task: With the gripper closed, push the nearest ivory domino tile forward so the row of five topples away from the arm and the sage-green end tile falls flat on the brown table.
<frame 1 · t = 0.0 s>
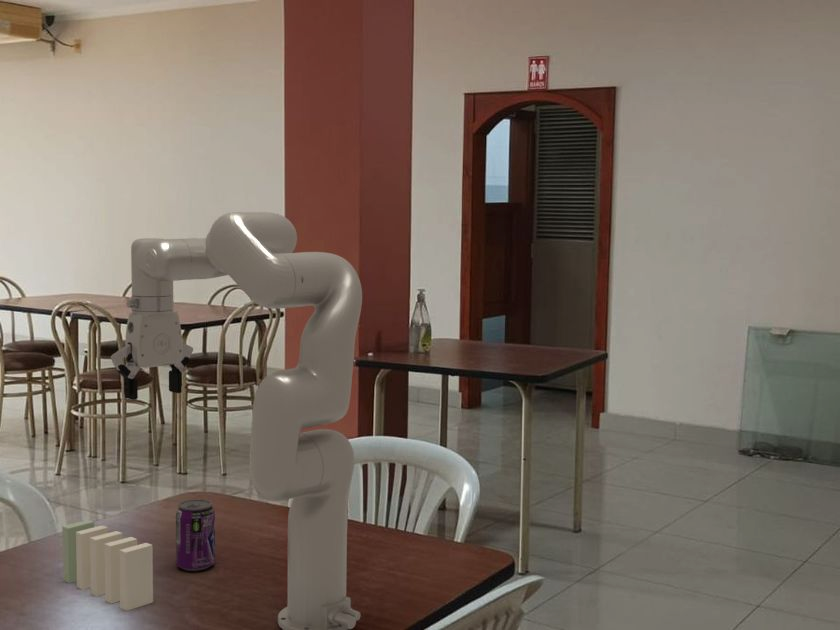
hand: (153, 395, 193), 31 cm above the table, fingers open, 9 cm apart
tile 5: (79, 578, 184), on the table
tile 3: (107, 591, 178), on the table
beverage can: (195, 567, 191), on the table
tile 1: (136, 605, 172), on the table
tile 2: (121, 598, 175), on the table
tile 4: (93, 584, 181), on the table
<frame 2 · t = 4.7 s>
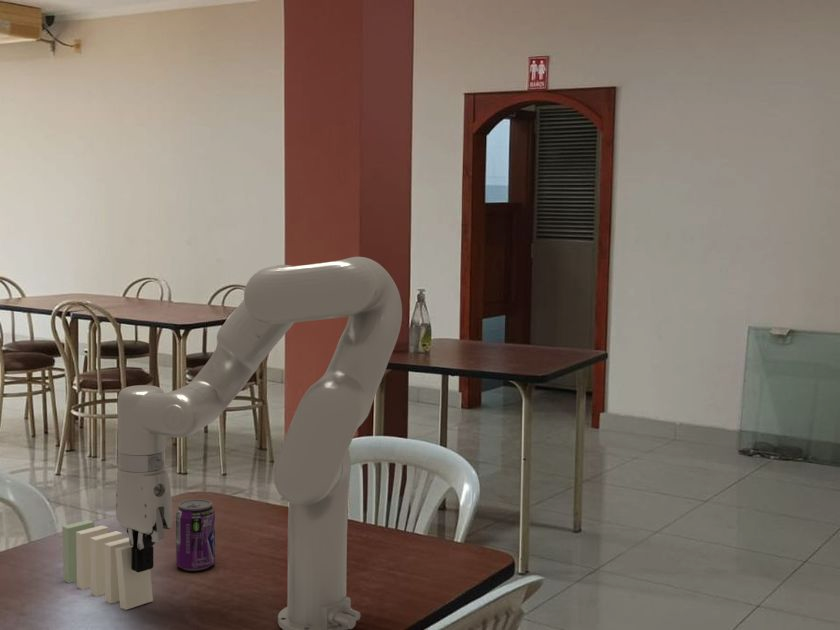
hand: (142, 569, 170), 7 cm above the table, fingers closed
tile 1: (136, 604, 172), on the table, tilted 7°, touching gripper
everything else where it was.
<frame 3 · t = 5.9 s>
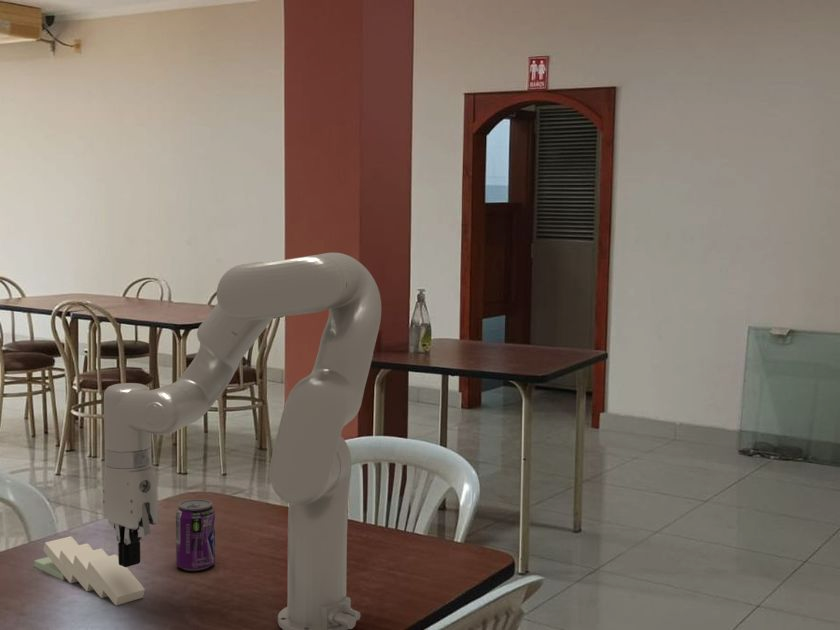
hand: (129, 564, 173), 7 cm above the table, fingers closed
tile 5: (76, 575, 185), on the table, tilted 90°, touching tile 4
tile 3: (101, 583, 180), point 1 cm above the table, tilted 68°, touching tile 2
tile 1: (130, 597, 173), point 1 cm above the table, tilted 67°, touching tile 2
tile 2: (115, 590, 177), point 1 cm above the table, tilted 67°, touching tile 1, tile 3
tile 4: (84, 575, 183), point 1 cm above the table, tilted 68°, touching tile 5
everything else where it was.
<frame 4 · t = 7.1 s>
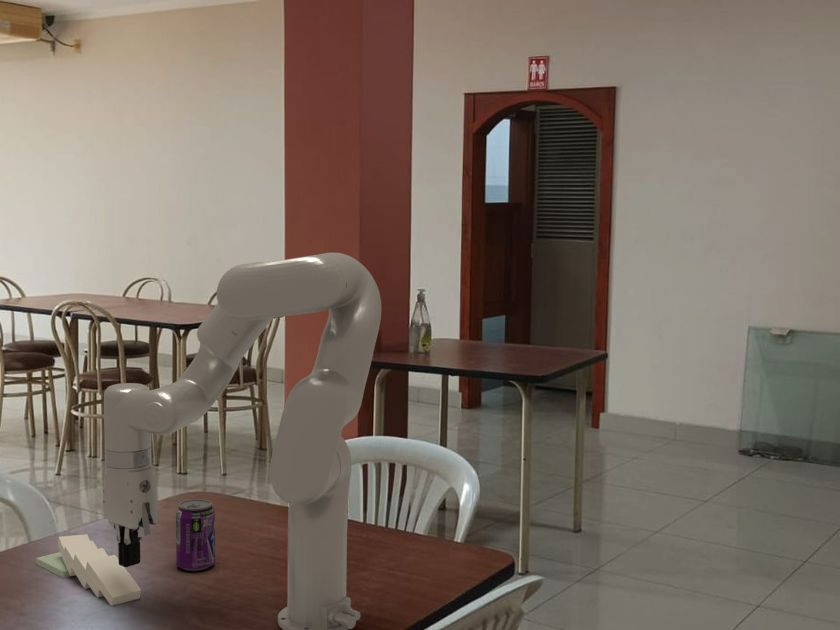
hand: (129, 564, 173), 7 cm above the table, fingers closed
tile 5: (76, 572, 186), on the table, tilted 90°, touching tile 4
tile 3: (99, 581, 180), point 1 cm above the table, tilted 68°, touching tile 2, tile 4
tile 1: (126, 598, 173), point 1 cm above the table, tilted 68°
tile 2: (112, 590, 177), point 1 cm above the table, tilted 68°, touching tile 3
tile 4: (85, 570, 184), point 1 cm above the table, tilted 73°, touching tile 3, tile 5
everything else where it was.
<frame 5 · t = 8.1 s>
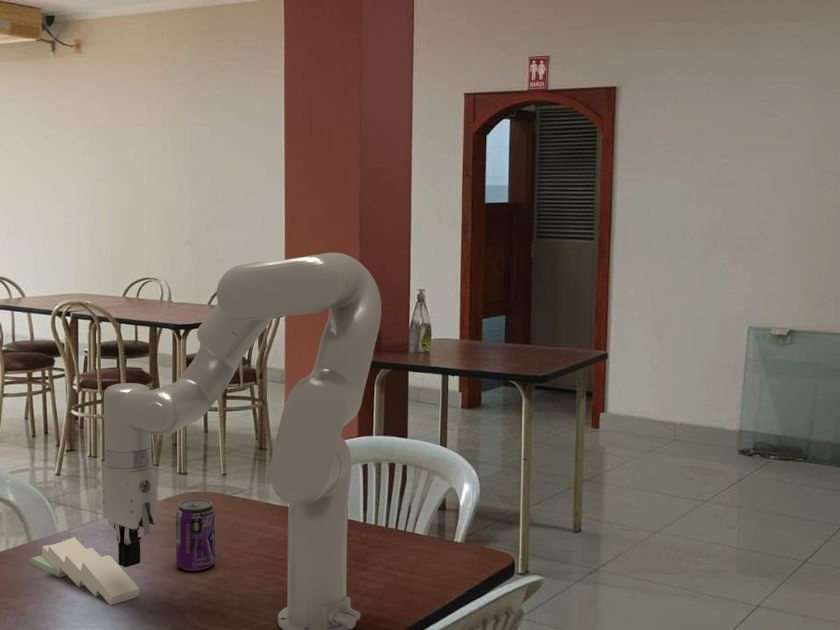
hand: (129, 564, 173), 7 cm above the table, fingers closed
tile 3: (92, 578, 182), point 1 cm above the table, tilted 67°, touching tile 2
tile 1: (124, 596, 174), point 1 cm above the table, tilted 69°, touching tile 2
tile 2: (109, 587, 177), point 1 cm above the table, tilted 68°, touching tile 1, tile 3
tile 4: (73, 564, 186), point 2 cm above the table, tilted 89°, touching tile 5
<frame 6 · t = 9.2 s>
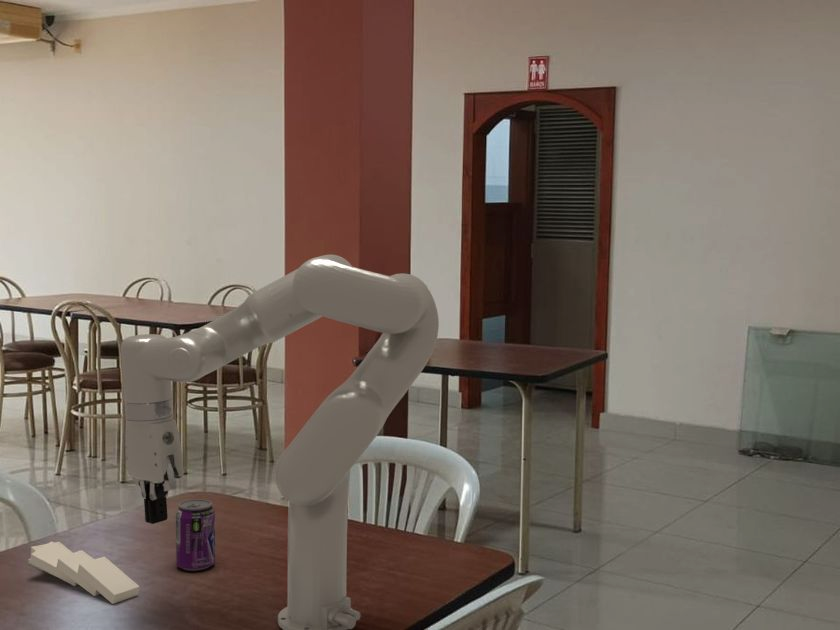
hand: (156, 520, 168), 15 cm above the table, fingers closed
tile 3: (85, 575, 182), point 1 cm above the table, tilted 72°
tile 2: (107, 587, 178), point 1 cm above the table, tilted 71°, touching tile 1
tile 4: (63, 564, 186), point 2 cm above the table, tilted 90°, touching tile 5
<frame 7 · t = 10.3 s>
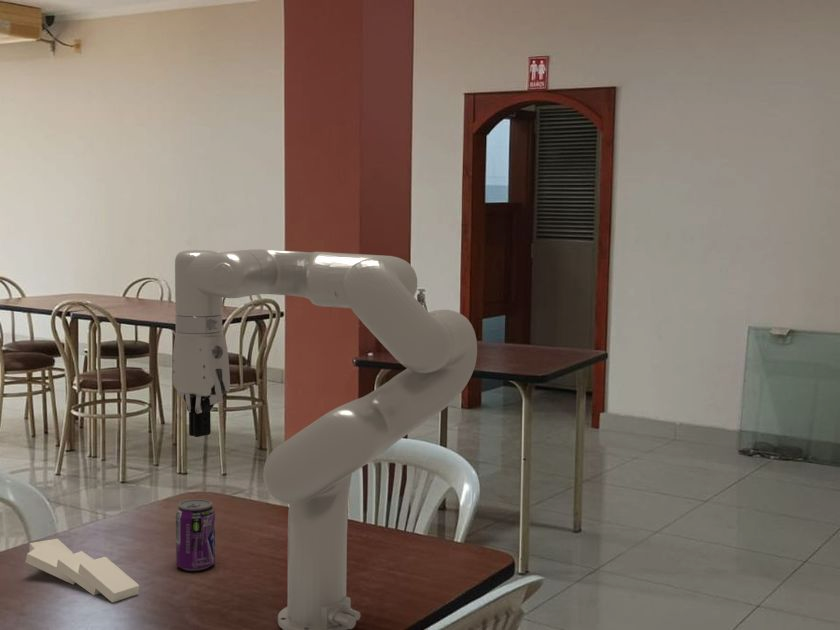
hand: (199, 434, 171), 29 cm above the table, fingers closed
tile 3: (82, 574, 183), point 1 cm above the table, tilted 71°, touching tile 2
tile 2: (106, 586, 178), point 1 cm above the table, tilted 73°, touching tile 1, tile 3
tile 4: (59, 560, 188), point 2 cm above the table, tilted 90°, touching tile 5
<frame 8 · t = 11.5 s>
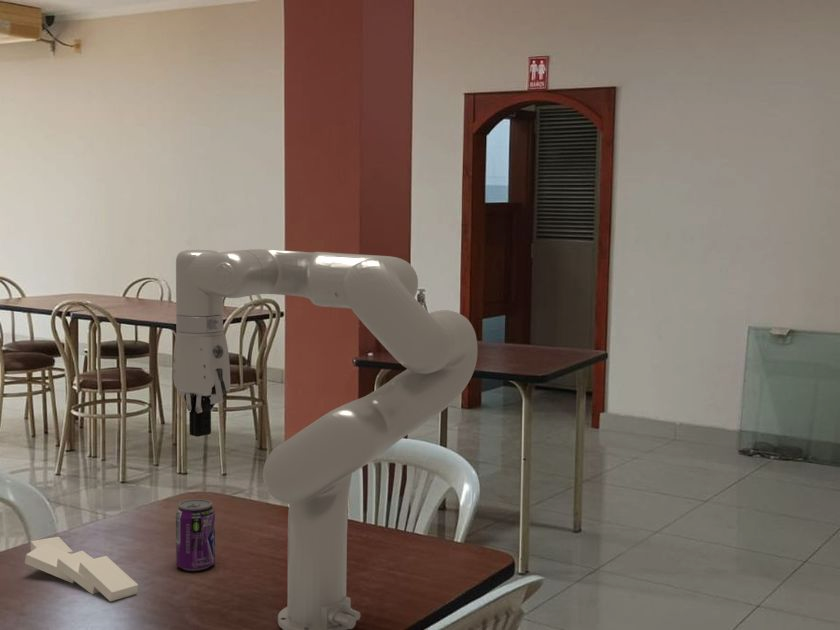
hand: (200, 434, 171), 29 cm above the table, fingers closed
tile 3: (82, 572, 184), point 1 cm above the table, tilted 74°, touching tile 2, tile 4
tile 4: (58, 558, 189), point 2 cm above the table, tilted 90°, touching tile 3, tile 5
at the end: tile 5 tilted 90°; tile 1 tilted 73° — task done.
